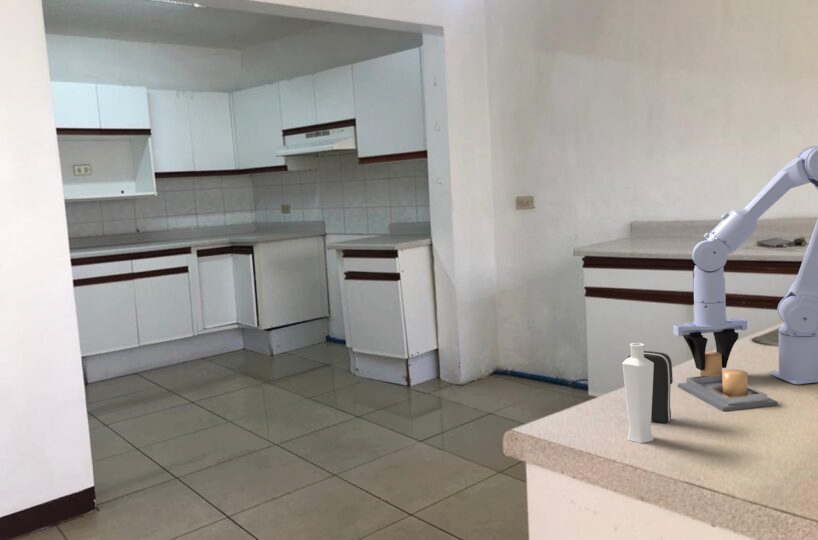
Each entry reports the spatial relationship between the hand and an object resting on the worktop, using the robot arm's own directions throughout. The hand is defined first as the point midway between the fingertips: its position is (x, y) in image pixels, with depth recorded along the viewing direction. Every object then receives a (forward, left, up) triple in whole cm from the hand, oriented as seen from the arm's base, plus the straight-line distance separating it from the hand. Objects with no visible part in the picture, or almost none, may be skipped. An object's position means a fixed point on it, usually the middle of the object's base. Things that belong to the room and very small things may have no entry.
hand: (711, 367), depth 134 cm
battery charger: (+22, +19, -2) cm, 29 cm away
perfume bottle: (+28, +27, -2) cm, 39 cm away
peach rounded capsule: (0, 0, -2) cm, 2 cm away
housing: (+4, +12, -2) cm, 13 cm away
